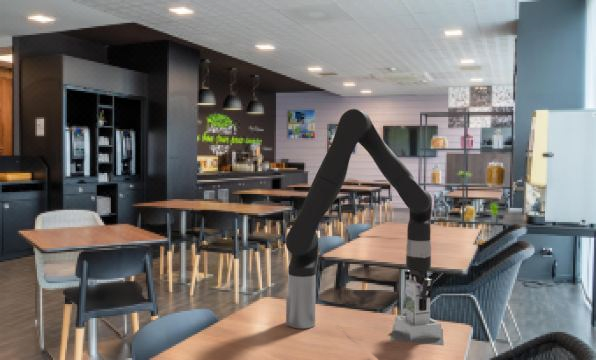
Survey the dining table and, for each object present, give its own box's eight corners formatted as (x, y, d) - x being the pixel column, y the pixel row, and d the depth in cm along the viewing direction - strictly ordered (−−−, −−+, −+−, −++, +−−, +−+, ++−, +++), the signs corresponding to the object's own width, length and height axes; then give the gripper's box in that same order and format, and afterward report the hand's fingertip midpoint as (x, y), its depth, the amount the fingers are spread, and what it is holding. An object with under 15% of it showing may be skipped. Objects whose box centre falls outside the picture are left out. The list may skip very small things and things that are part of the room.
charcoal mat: (390, 344, 159) (390, 340, 159) (393, 328, 174) (393, 324, 174) (443, 349, 155) (443, 345, 155) (442, 332, 170) (442, 328, 170)
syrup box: (430, 328, 163) (431, 282, 162) (413, 330, 161) (414, 283, 160) (420, 323, 168) (421, 278, 168) (404, 324, 166) (405, 279, 166)
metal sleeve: (410, 341, 158) (410, 326, 158) (394, 330, 168) (394, 316, 168) (440, 338, 161) (441, 323, 161) (423, 327, 171) (424, 314, 171)
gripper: (397, 250, 169) (396, 302, 170) (419, 258, 156) (418, 315, 156) (418, 249, 171) (417, 300, 172) (441, 257, 158) (440, 313, 158)
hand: (417, 307), depth 164 cm, fingers closed on syrup box, 6 cm apart
